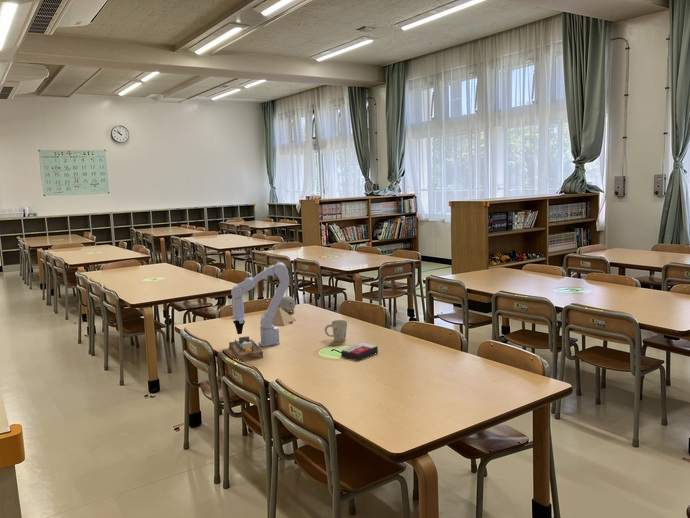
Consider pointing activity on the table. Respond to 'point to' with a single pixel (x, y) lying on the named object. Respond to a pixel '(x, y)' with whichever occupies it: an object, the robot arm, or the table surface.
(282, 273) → the robot arm
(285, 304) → the toy sheep
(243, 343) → the grey block
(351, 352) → the flat black red box
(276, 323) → the model pyramid
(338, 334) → the mug
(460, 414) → the table surface
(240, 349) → the launcher base
